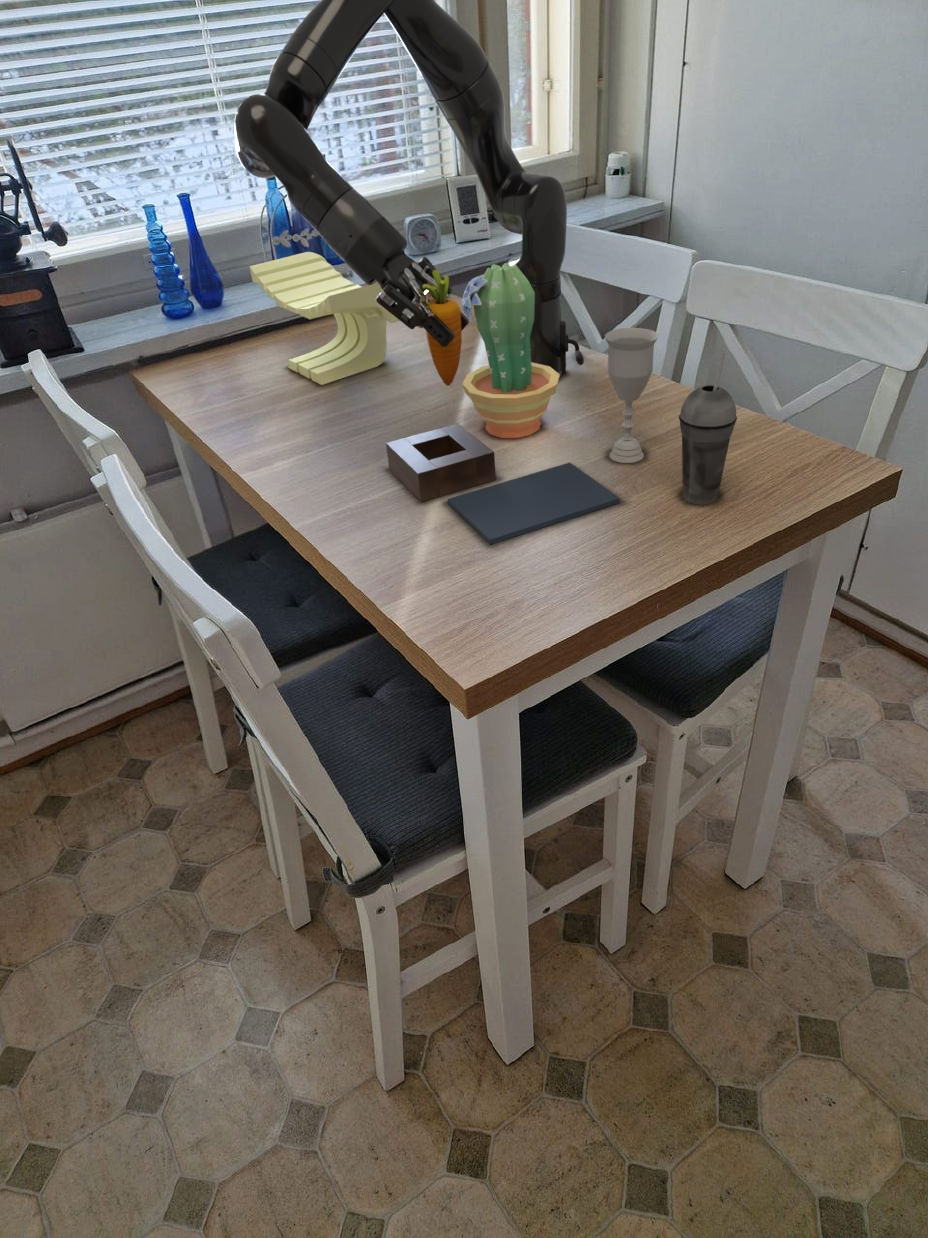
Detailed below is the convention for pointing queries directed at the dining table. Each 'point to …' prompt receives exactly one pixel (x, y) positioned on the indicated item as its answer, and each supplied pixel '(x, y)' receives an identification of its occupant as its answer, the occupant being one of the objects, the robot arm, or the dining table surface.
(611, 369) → the chalice
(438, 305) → the carrot
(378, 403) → the dining table surface
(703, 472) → the beverage cup
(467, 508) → the mat
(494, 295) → the potted cactus
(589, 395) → the dining table surface
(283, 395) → the dining table surface
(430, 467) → the stand
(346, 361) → the slatted curved stool
